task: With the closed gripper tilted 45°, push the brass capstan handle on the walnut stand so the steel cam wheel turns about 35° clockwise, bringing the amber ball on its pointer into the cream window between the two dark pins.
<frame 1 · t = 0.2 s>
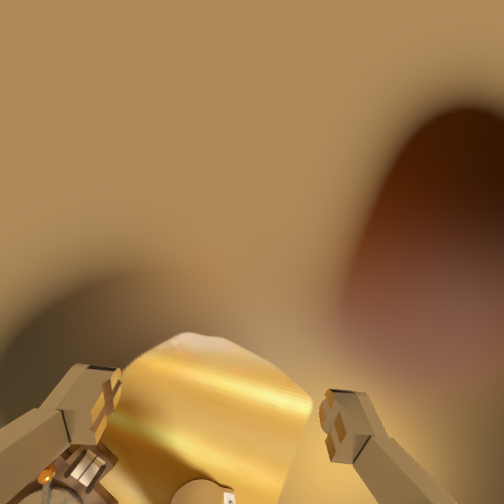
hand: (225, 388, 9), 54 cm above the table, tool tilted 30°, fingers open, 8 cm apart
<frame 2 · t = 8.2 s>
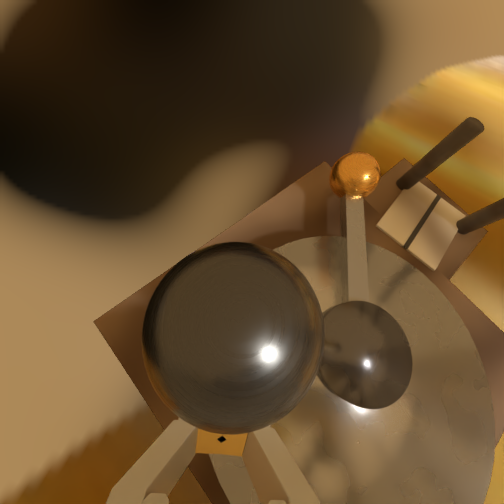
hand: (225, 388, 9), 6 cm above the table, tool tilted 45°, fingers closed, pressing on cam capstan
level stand: (324, 347, 16), on the table
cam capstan: (395, 308, 10), point 8 cm above the table, hinge at -0.5°, touching gripper
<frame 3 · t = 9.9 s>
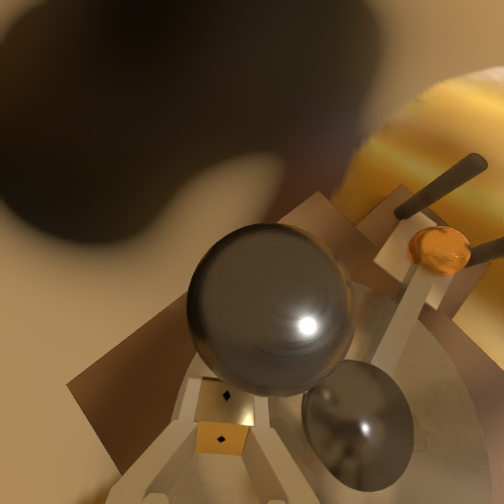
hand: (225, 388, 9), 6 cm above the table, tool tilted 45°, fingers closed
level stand: (319, 395, 15), on the table
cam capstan: (418, 395, 9), point 8 cm above the table, hinge at -32.1°
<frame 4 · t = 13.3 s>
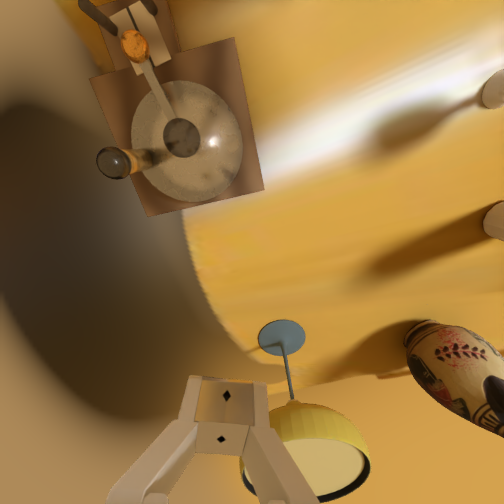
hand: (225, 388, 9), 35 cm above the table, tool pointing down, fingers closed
ceramic jug: (426, 332, 55), on the table
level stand: (189, 139, 37), on the table
cocktail glass: (281, 337, 55), on the table
chalice: (499, 89, 35), on the table
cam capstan: (165, 125, 29), point 8 cm above the table, hinge at -32.1°
water bottle: (503, 218, 44), on the table
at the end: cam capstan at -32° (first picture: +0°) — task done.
